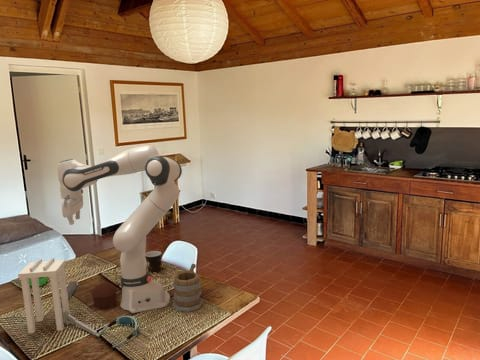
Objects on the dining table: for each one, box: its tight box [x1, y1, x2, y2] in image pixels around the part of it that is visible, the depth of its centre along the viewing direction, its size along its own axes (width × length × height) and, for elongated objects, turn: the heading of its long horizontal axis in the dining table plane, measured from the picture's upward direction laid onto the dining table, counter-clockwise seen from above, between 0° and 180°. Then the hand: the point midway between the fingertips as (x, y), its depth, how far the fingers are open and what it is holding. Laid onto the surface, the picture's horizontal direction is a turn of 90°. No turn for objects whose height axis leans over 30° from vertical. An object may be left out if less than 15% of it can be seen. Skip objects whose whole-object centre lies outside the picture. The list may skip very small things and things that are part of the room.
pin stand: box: [18, 257, 71, 335], centre depth 156 cm, size 14×12×28 cm
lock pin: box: [60, 279, 79, 309], centre depth 183 cm, size 3×24×3 cm, turn 8°
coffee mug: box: [145, 250, 162, 273], centre depth 208 cm, size 12×9×10 cm
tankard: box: [172, 263, 204, 313], centre depth 174 cm, size 20×13×15 cm, turn 168°
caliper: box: [62, 311, 99, 337], centre depth 154 cm, size 20×1×6 cm, turn 61°
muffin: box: [90, 282, 118, 311], centre depth 173 cm, size 12×11×10 cm
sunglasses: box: [95, 315, 139, 349], centre depth 150 cm, size 14×15×5 cm
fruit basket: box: [29, 276, 49, 287], centre depth 196 cm, size 11×9×11 cm
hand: (75, 221), depth 181 cm, fingers open, 8 cm apart
